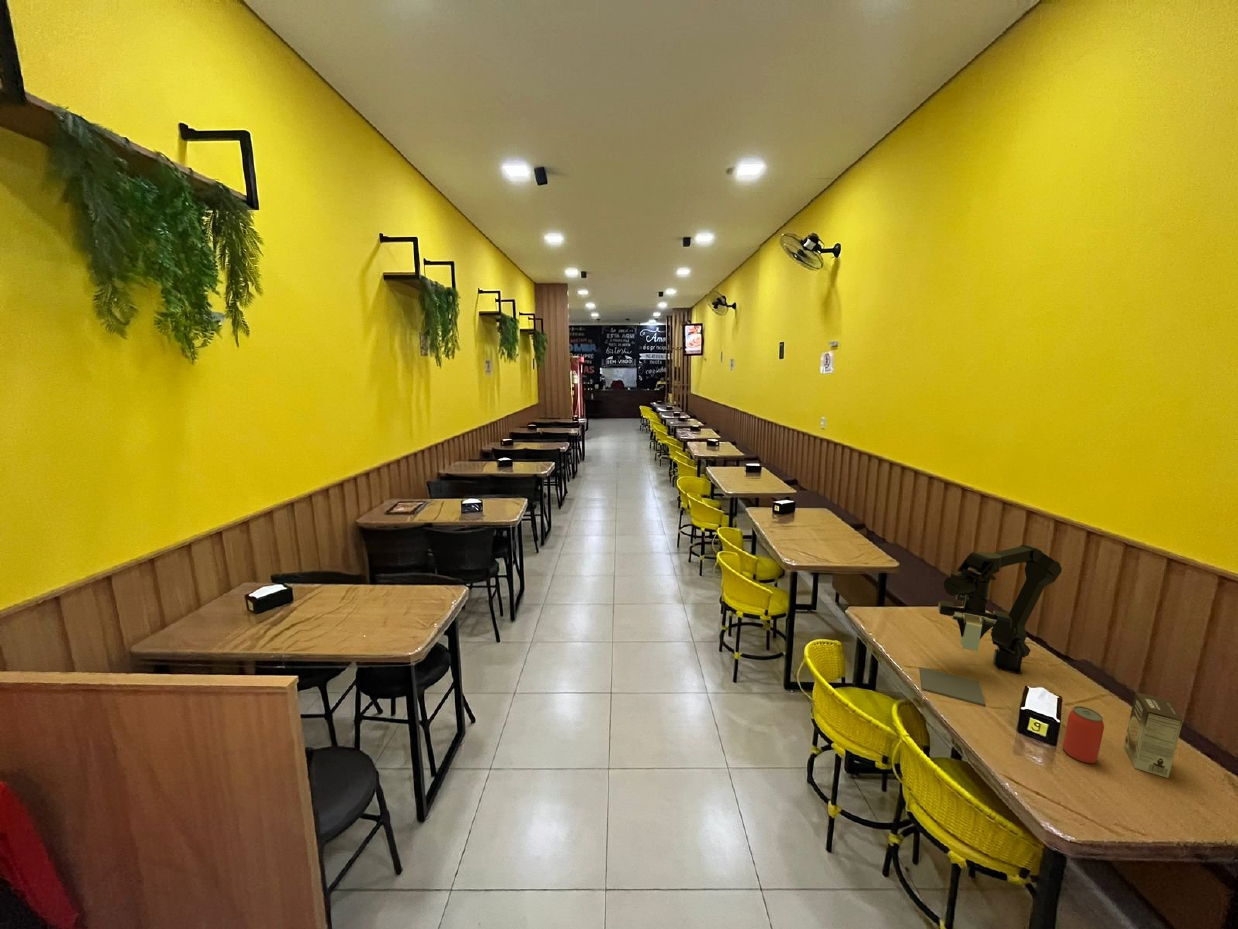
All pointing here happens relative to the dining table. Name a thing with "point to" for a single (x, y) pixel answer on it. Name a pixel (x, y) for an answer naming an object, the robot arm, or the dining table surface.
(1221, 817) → the dining table surface
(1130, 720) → the coffee box
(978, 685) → the mat
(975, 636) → the pale green block
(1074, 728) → the beer can
